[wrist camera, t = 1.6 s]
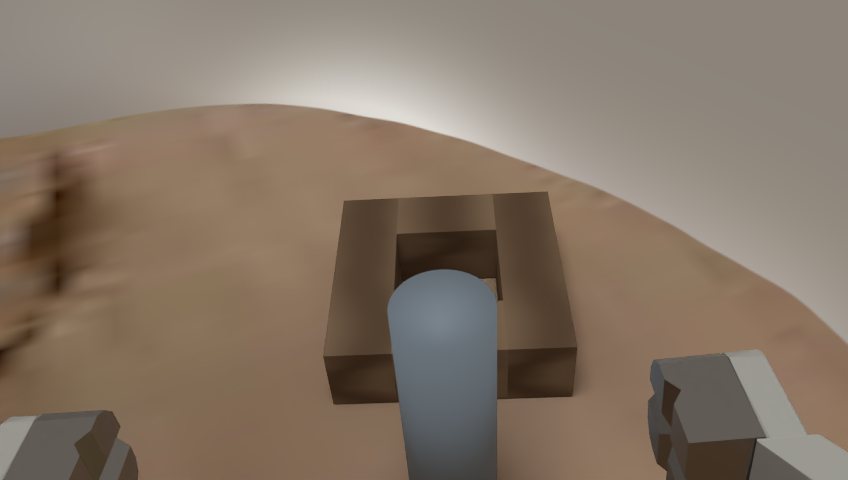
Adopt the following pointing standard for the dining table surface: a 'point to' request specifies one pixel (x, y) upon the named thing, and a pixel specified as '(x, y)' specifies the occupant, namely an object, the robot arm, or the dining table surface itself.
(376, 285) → the socket
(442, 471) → the peg
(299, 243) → the dining table surface
